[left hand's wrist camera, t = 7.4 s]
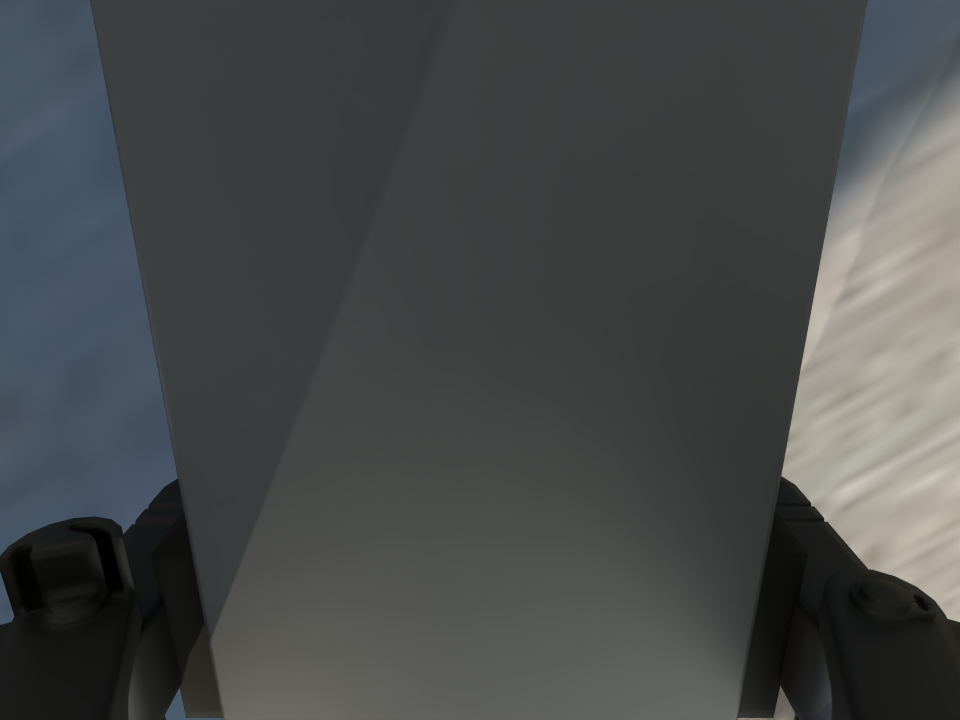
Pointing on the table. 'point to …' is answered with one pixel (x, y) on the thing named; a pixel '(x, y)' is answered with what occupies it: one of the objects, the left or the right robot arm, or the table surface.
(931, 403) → the table surface
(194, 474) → the bar
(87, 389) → the table surface
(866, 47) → the table surface
